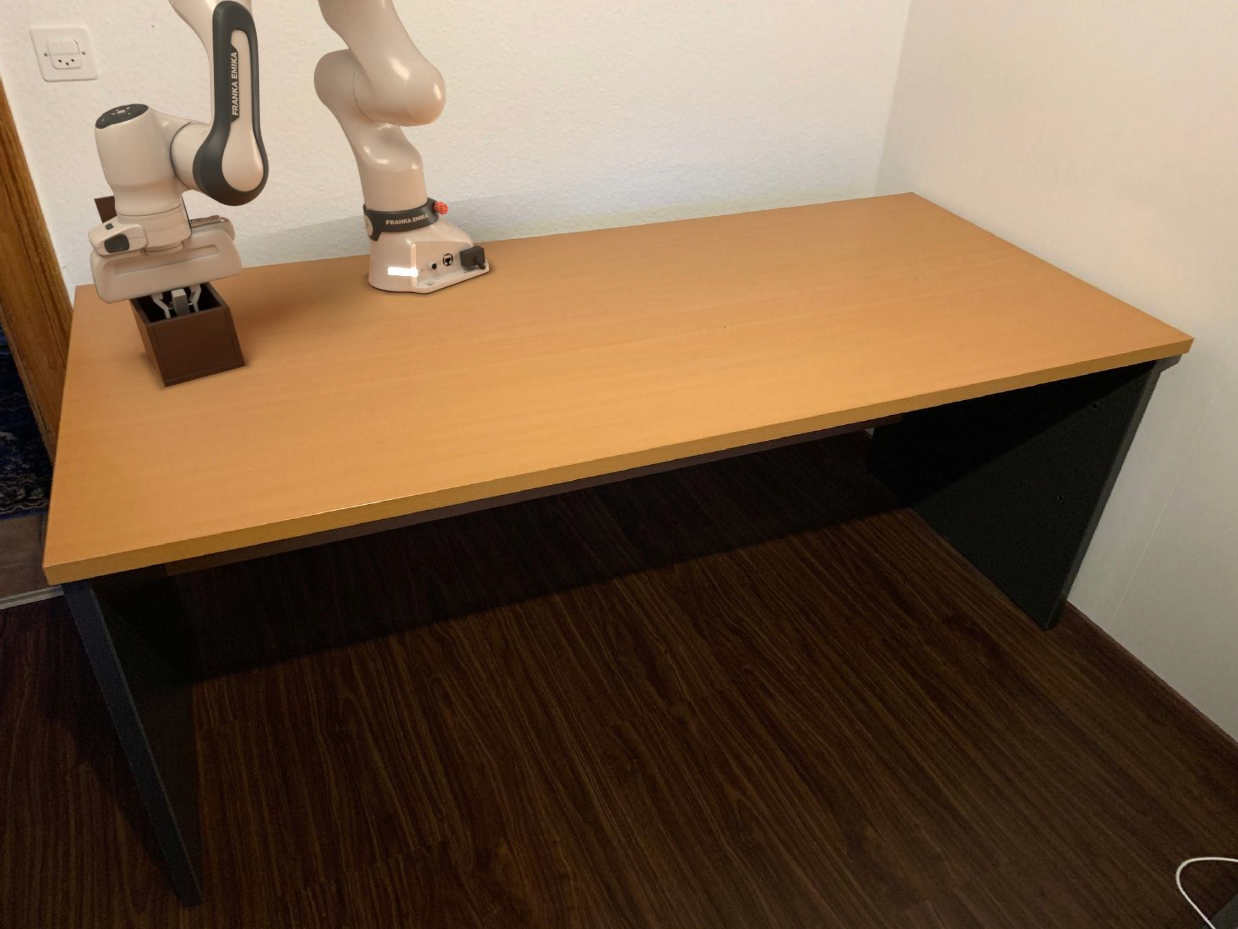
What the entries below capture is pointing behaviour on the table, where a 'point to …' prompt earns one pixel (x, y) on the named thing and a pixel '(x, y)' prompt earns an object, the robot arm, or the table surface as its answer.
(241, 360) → the chest
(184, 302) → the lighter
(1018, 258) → the table surface
